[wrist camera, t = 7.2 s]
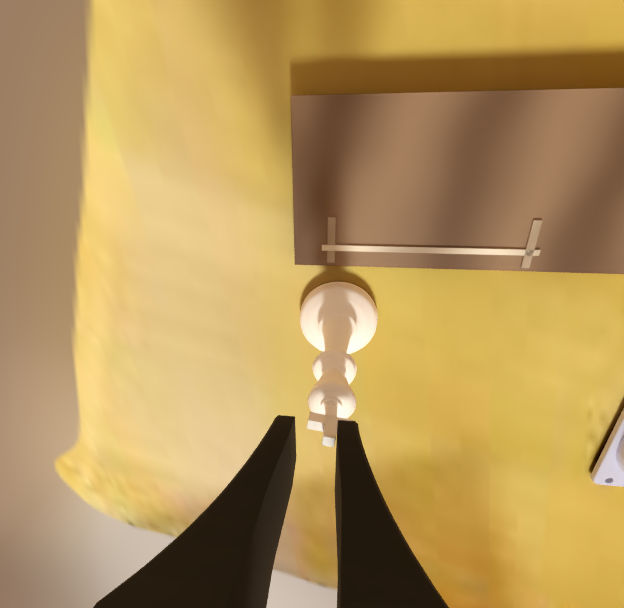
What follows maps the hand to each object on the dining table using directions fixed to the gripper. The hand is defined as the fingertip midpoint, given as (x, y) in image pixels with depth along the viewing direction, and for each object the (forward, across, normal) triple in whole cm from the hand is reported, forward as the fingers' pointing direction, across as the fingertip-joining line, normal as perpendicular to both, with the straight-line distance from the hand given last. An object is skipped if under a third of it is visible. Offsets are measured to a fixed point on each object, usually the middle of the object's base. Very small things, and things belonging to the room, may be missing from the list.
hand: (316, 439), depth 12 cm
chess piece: (+10, 0, 0) cm, 10 cm away
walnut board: (+10, -7, -8) cm, 15 cm away
